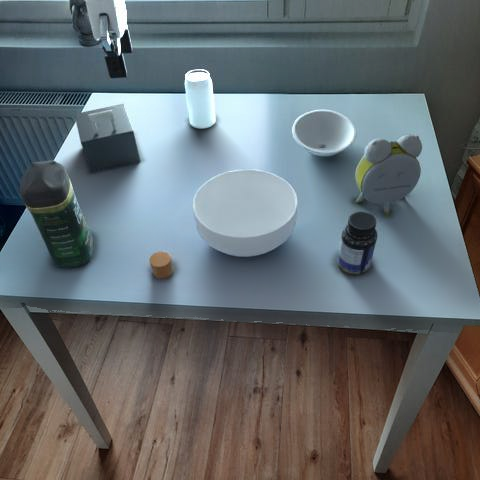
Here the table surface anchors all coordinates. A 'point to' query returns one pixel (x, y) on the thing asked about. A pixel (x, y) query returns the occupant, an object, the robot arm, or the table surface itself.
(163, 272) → the cylinder
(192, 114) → the can
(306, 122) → the dish
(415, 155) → the alarm clock
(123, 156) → the open grey storage bin
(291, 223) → the bowl
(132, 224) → the table surface
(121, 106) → the lid
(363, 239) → the pill bottle
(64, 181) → the coffee jar
